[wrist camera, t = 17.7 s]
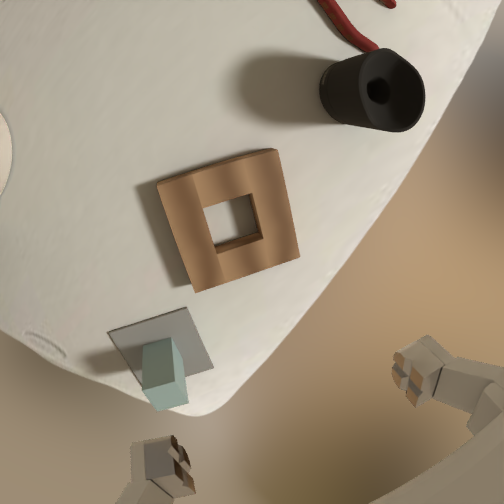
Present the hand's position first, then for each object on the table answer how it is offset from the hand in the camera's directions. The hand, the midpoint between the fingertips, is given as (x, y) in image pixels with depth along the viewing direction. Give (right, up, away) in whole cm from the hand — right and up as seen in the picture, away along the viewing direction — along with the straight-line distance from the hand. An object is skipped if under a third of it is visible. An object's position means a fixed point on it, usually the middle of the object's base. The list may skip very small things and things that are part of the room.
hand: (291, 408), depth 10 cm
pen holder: (+11, +26, +27) cm, 39 cm away
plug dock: (-4, +9, +30) cm, 31 cm away
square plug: (-14, -9, +34) cm, 38 cm away
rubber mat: (-14, -9, +35) cm, 39 cm away
